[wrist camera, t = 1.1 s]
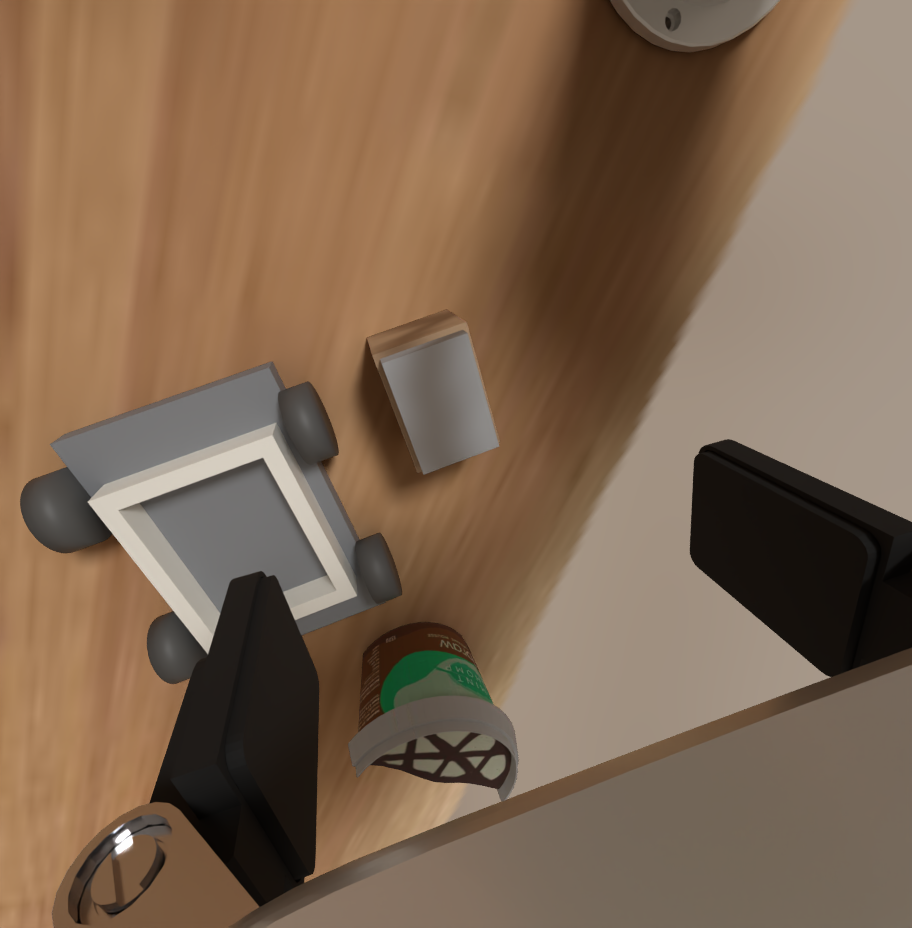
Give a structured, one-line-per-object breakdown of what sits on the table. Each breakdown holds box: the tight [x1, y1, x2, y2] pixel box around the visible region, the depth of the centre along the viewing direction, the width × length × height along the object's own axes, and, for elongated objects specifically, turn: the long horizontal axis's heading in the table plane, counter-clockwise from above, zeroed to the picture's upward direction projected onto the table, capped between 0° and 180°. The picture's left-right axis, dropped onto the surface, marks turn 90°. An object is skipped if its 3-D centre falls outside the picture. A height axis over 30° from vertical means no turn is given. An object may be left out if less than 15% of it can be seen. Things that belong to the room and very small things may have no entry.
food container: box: [348, 622, 518, 802], centre depth 35 cm, size 12×6×10 cm, turn 56°
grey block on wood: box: [367, 309, 500, 474], centre depth 27 cm, size 5×7×6 cm
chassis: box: [20, 362, 402, 684], centre depth 29 cm, size 15×18×4 cm
